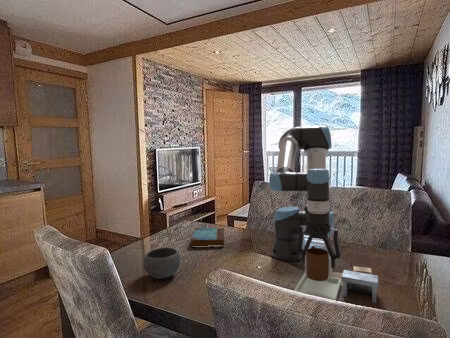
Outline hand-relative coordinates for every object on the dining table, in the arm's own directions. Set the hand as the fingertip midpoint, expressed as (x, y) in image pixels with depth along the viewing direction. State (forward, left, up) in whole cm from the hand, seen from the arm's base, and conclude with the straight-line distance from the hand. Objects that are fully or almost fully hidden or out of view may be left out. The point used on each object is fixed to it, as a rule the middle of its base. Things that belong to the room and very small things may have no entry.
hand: (318, 273), depth 103 cm
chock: (+14, +11, -6) cm, 19 cm away
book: (-67, +31, -7) cm, 74 cm away
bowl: (-60, -16, -6) cm, 62 cm away
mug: (-1, 0, -1) cm, 1 cm away
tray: (0, 0, -6) cm, 6 cm away
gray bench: (+13, +4, -6) cm, 15 cm away
